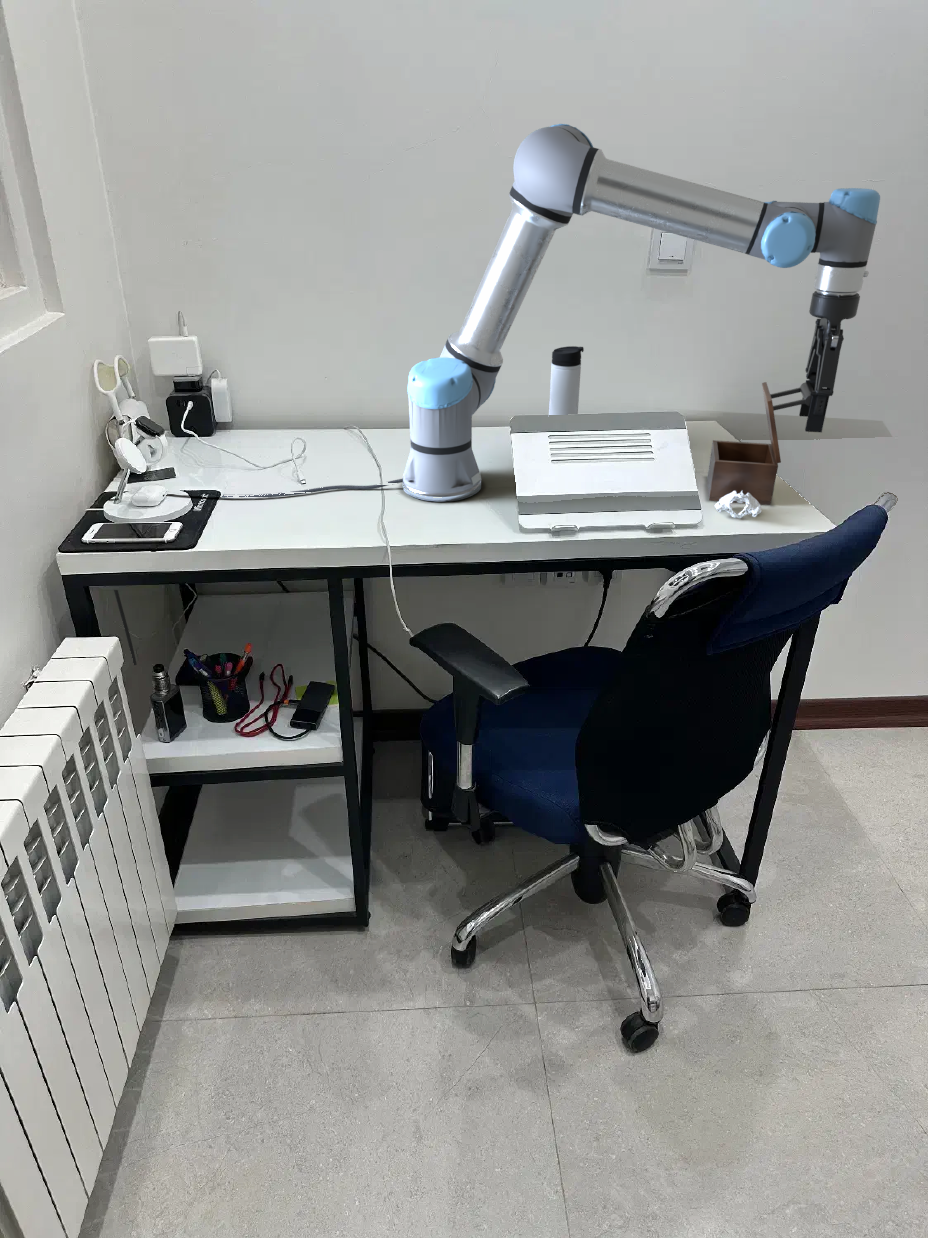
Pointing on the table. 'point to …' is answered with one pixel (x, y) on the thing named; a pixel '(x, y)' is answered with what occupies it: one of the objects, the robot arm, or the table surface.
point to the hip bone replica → (751, 502)
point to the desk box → (742, 470)
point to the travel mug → (565, 380)
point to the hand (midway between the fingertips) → (810, 423)
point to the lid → (768, 397)
